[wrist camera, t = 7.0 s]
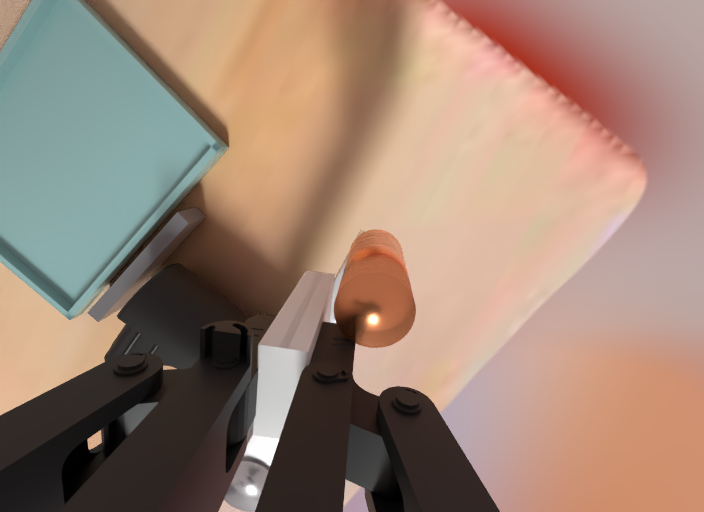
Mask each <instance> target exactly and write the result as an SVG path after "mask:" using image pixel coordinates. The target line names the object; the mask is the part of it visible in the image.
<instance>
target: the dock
mask: <svg viewBox="0 0 704 512" xmlns="http://www.w3.org/2000/svg"><path fill="white" fill-rule="evenodd" d="M205 217H206V216H205V215H204V214H203V213H202V212H200V211H199V210H198V209H197V208H196V207H193V208H190V209H186V210H183V211H179V212H177V213H176V214H175V215H174V216H173V217H172V218H171V220H170V221H169V222H168V223H167V224H166V225H165V226H164V227H163V229H162V230H161V231H160V232H159V233H158V234H157V235H156V236H155V238H154V239H153V240H152V241H151V242H150V243H149V244H148V245H147V247H146V248H145V249H144V250H143V251H142V252H141V253H140V254H139V256H138V257H137V258H136V259H135V260H134V261H133V262H132V263H131V265H130V266H129V267H128V268H127V269H126V270H125V271H124V272H123V274H122V275H121V276H120V277H119V278H118V279H117V280H116V281H115V282H114V284H113V285H112V286H111V287H110V288H109V289H108V290H107V291H106V293H105V294H104V295H103V296H102V297H101V298H100V299H99V300H98V302H97V303H96V304H95V305H94V306H93V307H92V308H91V309H90V311H89V312H88V314H89V315H91V316H92V317H93V318H94V319H95V320H96V321H98V322H99V321H101V320H102V319H104V318H106V317H107V316H109V315H111V314H112V313H114V312H116V311H117V310H119V309H121V308H122V307H123V306H124V305H125V304H126V303H127V302H128V300H129V299H130V298H131V297H132V296H133V295H134V294H135V293H136V292H137V291H138V290H139V289H140V287H141V286H142V285H143V284H144V283H145V282H146V281H147V280H148V279H149V278H150V277H151V276H152V274H153V273H154V272H155V271H156V270H157V269H158V268H159V267H160V266H161V265H162V264H163V263H164V261H165V260H166V259H167V258H168V257H169V256H170V255H171V254H172V253H173V252H174V251H175V250H176V248H177V247H178V246H179V245H180V244H181V243H182V242H183V241H184V240H185V239H186V238H187V237H188V235H189V234H190V233H191V232H192V231H193V230H194V229H195V228H196V227H197V226H198V225H199V224H200V222H201V221H202V220H203V219H204V218H205ZM253 425H254V420H253V422H252V424H251V427H250V429H249V431H248V440H249V439H250V437H251V435H252V433H253Z"/></svg>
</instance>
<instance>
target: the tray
mask: <svg viewBox="0 0 704 512" xmlns="http://www.w3.org/2000/svg"><path fill="white" fill-rule="evenodd" d="M228 148H229V147H228V146H227V145H226V144H225V143H224V142H223V141H222V140H221V139H220V138H219V137H218V135H217V134H216V133H215V132H214V131H213V130H212V129H211V128H210V127H209V126H208V125H207V124H206V123H205V122H204V121H203V120H202V119H201V118H200V117H199V116H198V115H197V114H196V113H195V112H194V111H193V110H192V109H191V108H190V107H189V106H188V105H187V104H186V103H185V102H184V101H183V100H182V99H181V98H180V97H179V96H178V95H177V94H176V93H175V92H174V91H173V90H172V89H171V88H170V86H169V85H168V84H167V83H166V82H165V81H164V80H163V79H162V78H161V77H160V76H159V75H158V74H157V73H156V72H155V71H154V70H153V69H152V68H151V67H150V66H149V65H148V64H147V63H146V62H145V61H144V60H143V59H142V58H141V57H140V56H139V55H138V54H137V53H136V52H135V51H134V50H133V49H132V48H131V47H130V46H129V45H128V44H127V43H126V42H125V41H124V40H123V39H122V37H121V36H120V35H119V34H118V33H117V32H116V31H115V30H114V29H113V28H112V27H111V26H110V25H109V24H108V23H107V22H106V21H105V20H104V19H103V18H102V17H101V16H100V15H99V14H98V13H97V12H96V11H95V10H94V9H93V8H92V7H91V6H90V5H89V4H88V3H87V2H86V1H85V0H32V1H31V2H30V4H29V6H28V7H27V9H26V11H25V12H24V14H23V15H22V17H21V19H20V20H19V22H18V24H17V25H16V27H15V28H14V30H13V32H12V33H11V35H10V37H9V38H8V40H7V41H6V43H5V45H4V46H3V48H2V50H1V51H0V262H1V263H2V264H4V265H5V266H6V267H7V268H8V269H9V270H11V271H12V272H13V273H14V274H15V275H17V276H18V277H19V278H20V279H21V280H22V281H24V282H25V283H26V284H27V285H28V286H30V287H31V288H32V289H33V290H34V291H36V292H37V293H38V294H39V295H40V296H41V297H43V298H44V299H45V300H46V301H47V302H49V303H50V304H51V305H52V306H53V307H54V308H56V309H57V310H58V311H59V312H60V313H62V314H63V315H64V316H65V317H66V318H68V319H69V320H71V319H73V318H75V317H77V316H79V315H80V314H82V313H83V312H84V311H85V310H86V308H87V307H88V306H89V305H90V304H91V303H92V302H93V300H94V299H95V298H96V297H97V296H98V295H99V294H100V293H101V291H102V290H103V289H104V288H105V287H106V286H107V285H108V284H109V282H110V281H111V280H112V279H113V278H114V277H115V276H116V274H117V273H118V272H119V271H120V270H121V269H122V268H123V267H124V265H125V264H126V263H127V262H128V261H129V260H130V259H131V258H132V256H133V255H134V254H135V253H136V252H137V251H138V250H139V249H140V247H141V246H142V245H143V244H144V243H145V242H146V241H147V239H148V238H149V237H150V236H151V235H152V234H153V233H154V232H155V230H156V229H157V228H158V227H159V226H160V225H161V224H162V223H163V221H164V220H165V219H166V218H167V217H168V216H169V215H170V213H171V212H172V211H173V210H174V209H175V208H176V207H177V206H178V204H179V203H180V202H181V201H182V200H183V199H184V198H185V197H186V195H187V194H188V193H189V192H190V191H191V190H192V189H193V188H194V186H195V185H196V184H197V183H198V182H199V181H200V180H201V178H202V177H203V176H204V175H205V174H206V173H207V172H208V171H209V169H210V168H211V167H212V166H213V165H214V164H215V163H216V162H217V160H218V159H219V158H220V157H221V156H222V155H223V154H224V152H225V151H226V150H227V149H228Z"/></svg>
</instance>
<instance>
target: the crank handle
mask: <svg viewBox="0 0 704 512" xmlns="http://www.w3.org/2000/svg"><path fill="white" fill-rule="evenodd" d="M415 313H416V309H415V302H414V298H413V294H412V290H411V286H410V281H409V277H408V273H407V269H406V265H405V261H404V257H403V252H402V248H401V246H400V243H399V242H398V240H397V239H396V238H395V237H394V236H393V235H392V234H390V233H388V232H386V231H383V230H369V231H366V232H365V231H363V230H360V232H359V234H358V236H357V238H356V239H355V240H354V242H353V243H352V246H351V249H350V251H349V253H348V254H347V256H346V258H345V260H344V262H343V264H342V266H341V268H340V270H339V271H338V273H337V275H336V277H335V279H334V288H333V297H332V306H331V314H330V323H337V325H338V327H339V329H340V330H341V332H342V333H343V334H344V335H345V336H346V337H347V338H348V339H350V340H351V341H353V342H355V343H356V344H359V345H362V346H365V347H371V348H379V347H386V346H389V345H392V344H394V343H396V342H398V341H399V340H401V339H402V338H403V337H404V336H405V335H406V334H407V333H408V332H409V330H410V329H411V327H412V325H413V322H414V319H415ZM278 441H279V439H273V438H268V437H261V436H254V435H253V433H252V435H251V437H250V439H249V440H248V441H247V448H246V452H245V454H244V456H243V458H242V460H241V463H240V465H239V467H238V469H237V471H236V474H235V476H234V478H233V480H232V482H231V485H230V487H229V489H228V491H227V493H226V495H225V498H224V500H225V501H226V502H227V503H228V504H230V505H231V506H233V507H235V508H237V509H239V510H243V511H255V510H256V507H257V504H258V501H259V498H260V495H261V492H262V489H263V486H264V483H265V480H266V477H267V474H268V471H269V468H270V465H271V462H272V459H273V456H274V453H275V450H276V447H277V444H278Z"/></svg>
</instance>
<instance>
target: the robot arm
mask: <svg viewBox="0 0 704 512" xmlns="http://www.w3.org/2000/svg"><path fill="white" fill-rule="evenodd" d="M334 279H335V274H329V273H321V272H314V271H305V273H304V274H303V276H302V277H301V279H300V280H299V282H298V284H297V285H296V287H295V288H294V290H293V291H292V293H291V294H290V296H289V298H288V299H287V301H286V302H285V304H284V305H283V307H282V308H281V310H280V312H279V313H278V315H277V316H271V315H263V314H257V315H255V316H253V317H251V318H249V319H247V320H246V321H245V323H242V322H238V321H227V320H226V321H217V322H213V323H210V324H207V325H205V326H203V327H202V328H200V358H199V359H198V360H197V361H196V363H195V364H194V365H193V366H192V367H191V368H187V369H173V370H163V362H162V360H161V358H160V357H159V356H157V355H155V354H151V353H146V352H139V353H138V352H132V353H129V354H124V355H120V356H118V357H115V358H113V359H110V360H108V361H106V362H104V363H102V364H100V365H98V366H96V367H94V368H92V369H90V370H88V371H86V372H85V373H83V374H81V375H79V376H77V377H75V378H73V379H71V380H69V381H67V382H65V383H63V384H61V385H59V386H57V387H55V388H53V389H51V390H49V391H47V392H45V393H43V394H41V395H40V396H38V397H36V398H34V399H32V400H30V401H28V402H26V403H24V404H22V405H20V406H18V407H16V408H14V409H12V410H10V411H8V412H6V413H4V414H2V415H0V512H218V511H219V509H220V506H221V504H222V502H223V500H224V498H225V495H226V493H227V491H228V489H229V487H230V485H231V482H232V480H233V478H234V476H235V474H236V471H237V469H238V467H239V465H240V463H241V460H242V458H243V456H244V454H245V452H246V448H247V441H248V431H249V429H250V427H251V424H252V422H253V420H254V425H253V435H254V436H261V437H268V438H273V439H279V441H278V444H277V447H276V450H275V453H274V456H273V459H272V462H271V465H270V468H269V471H268V474H267V477H266V480H265V483H264V486H263V489H262V492H261V495H260V498H259V501H258V504H257V507H256V510H255V512H343V502H344V489H345V479H346V480H348V481H350V482H353V483H355V484H357V485H359V486H361V487H363V488H365V498H366V502H367V507H368V510H369V512H500V511H499V509H498V508H497V506H496V504H495V503H494V501H493V500H492V498H491V496H490V495H489V493H488V491H487V490H486V488H485V487H484V485H483V483H482V482H481V480H480V478H479V477H478V475H477V473H476V472H475V470H474V469H473V467H472V465H471V464H470V462H469V460H468V459H467V457H466V456H465V454H464V452H463V451H462V449H461V447H460V446H459V445H458V443H457V441H456V439H455V438H454V436H453V435H452V433H451V431H450V429H449V428H448V426H447V425H446V423H445V421H444V420H443V418H442V416H441V415H440V413H439V412H438V410H437V408H436V407H435V405H434V403H433V402H432V401H431V400H430V399H429V398H428V397H427V396H426V395H424V394H423V393H421V392H419V391H417V390H415V389H412V388H408V387H399V386H397V387H391V388H388V389H386V390H384V391H382V393H381V395H380V396H376V395H374V394H371V393H369V392H367V391H365V390H363V389H362V388H360V387H359V386H358V385H357V384H356V383H355V381H354V379H353V374H352V372H353V362H354V351H355V342H353V341H351V340H350V339H348V338H347V337H346V336H345V335H344V334H343V333H342V332H341V330H340V329H339V327H338V325H337V323H330V314H331V306H332V297H333V288H334ZM99 430H101V435H102V443H101V444H99V445H98V446H97V447H95V448H93V449H91V450H89V449H88V442H87V439H88V438H89V437H91V436H92V435H94V434H95V433H97V432H98V431H99Z"/></svg>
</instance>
